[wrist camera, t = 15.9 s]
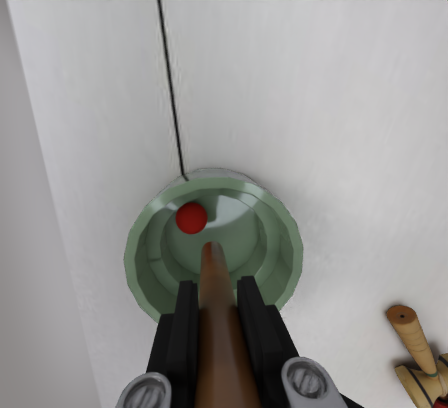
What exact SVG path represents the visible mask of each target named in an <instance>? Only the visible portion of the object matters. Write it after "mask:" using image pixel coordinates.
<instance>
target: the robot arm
mask: <svg viewBox="0 0 448 408" xmlns="http://www.w3.org/2000/svg"><path fill="white" fill-rule="evenodd" d="M237 308H238V312H239V316H240V320H241V324H242V328H243V332H244V336H245V340H246V344H247V348H248V352H249V356H250V360H251V364H252V368H253V372H254V376H255V380H256V384H257V387H258V391H259V395H260V399H261V403H262V407H263V408H364V407H362V406H361V405H359V404H357V403H356V402H354V401H352V400H351V399H349V398H347V397H346V396H344V395H342V394H341V393H339V391H338V389H337V388H336V386H335V384H334V382H333V380H332V379H331V377H330V375H329V374H328V373H327V371H326V370H325V369H324V368H323V367H322V366H321V365H320V364H319V363H317V362H315V361H314V360H312V359H309V358H306V357H300V356H299V354H298V352H297V350H296V348H295V346H294V343H293V341H292V339H291V337H290V335H289V332H288V330H287V328H286V326H285V324H284V322H283V319H282V317H281V315H280V313H279V311H278V309H277V307H276V305H275V304H272V305H265V304H264V301H263V298H262V296H261V293H260V291H259V288H258V286H257V283H256V281H255V278H254V276H253V275H251V276H241V280H237ZM198 324H199V301H198V286H197V283H193V281H192V280H185V281H180V283H179V289H178V295H177V301H176V306H175V312H174V313H168V314H161V316H160V319H159V323H158V327H157V331H156V335H155V339H154V343H153V347H152V350H151V354H150V358H149V362H148V366H147V370H146V373H145V374H142V375H140V376H138V377H137V378H135V379H134V380H133V381H131V382H130V383H129V384H128V385H127V386H126V388H125V389H124V390H123V392H122V394H121V396H120V398H119V400H118V403H117V406H116V408H194V395H195V390H196V371H197V348H198Z"/></svg>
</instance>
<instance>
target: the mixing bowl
mask: <svg viewBox="0 0 448 408" xmlns="http://www.w3.org/2000/svg"><path fill="white" fill-rule="evenodd" d="M189 202H194V203H198V204H200V205H201V206H202V207H203V208H204V209H205V210H206V212H207V216H208V220H207V224H206V226H205V228H204V229H203V230H202V231H200V232H199V233H196V234H186V233H184V232H182V231H181V230H180V229H179V228H178V226H177V224H176V220H175V217H176V213H177V211H178V209H179V208H180V207H181V206H183V205H184V204H186V203H189ZM209 241H216V242H218V243H220V244H221V246H222V247H223V251H224V255H225V259H226V263H227V267H228V271H229V275H230V279H231V283H232V287H233V291H234V295H235V299H236V303H237V280H241V276H251V275H253V276H254V278H255V281H256V283H257V286H258V288H259V291H260V293H261V296H262V298H263V301H264V304H265V305H272V304H275V305H276V307H277V309H278V311H280V310H281V308H282V307H283V306H284V305H285V304H286V302H287V301H288V300H289V299H290V297H291V296H292V295H293V293H294V290H295V288H296V285H297V283H298V280H299V278H300V276H301V273H302V261H303V244H302V241H301V237H300V234H299V230H298V227H297V223H296V222H295V220H294V219H293V217H292V216H291V215H290V213H289V212H288V210H287V209H286V208H285V206H284V205H283V204H282V202H281V201H280V200H279V199H277V198H276V197H274V196H273V195H272V194H270V193H269V192H268V191H266V190H265V189H264V188H262V187H261V186H259V185H258V184H257V183H255V182H254V181H252V180H251V179H249V178H248V177H246V176H245V175H243V174H241V173H237V172H234V171H230V170H227V169H223V168H209V169H198V170H195V171H192V172H190V173H187V174H184V175H181V176H179V177H177V178H176V179H175V180H174V181H172V182H171V183H170V184H169V185H167V186H166V187H165V188H164V189H162V190H161V191H160V192H159V193H158V194H157V195H156V196H155V197H154V198H153V199H152V200H151V201H150V202H149V203H148V204H147V205H146V206H145V208H144V209H143V210H142V212H141V214H140V215H139V217H138V218H137V220H136V222H135V223H134V225H133V226H132V228H131V230H130V232H129V235H128V240H127V244H126V249H125V254H124V265H125V272H126V278H127V284H128V286H129V288H130V290H131V292H132V294H133V296H134V297H135V299H136V301H137V303H138V305H139V306H140V308H141V309H142V310H144V311H145V312H146V313H147V314H148V315H149V316H150V317H151V318H152V319H153V320H154V321H156V322H157V323H159V319H160V316H161V314H168V313H174V312H175V306H176V301H177V295H178V289H179V283H180V281H185V280H192V281H193V283H197V286H198V301H199V290H200V269H201V250H202V247H203V245H204V244H205V243H207V242H209Z"/></svg>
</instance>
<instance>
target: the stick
mask: <svg viewBox="0 0 448 408" xmlns="http://www.w3.org/2000/svg"><path fill="white" fill-rule="evenodd" d="M194 408H263V407H262V403H261V399H260V395H259V391H258V387H257V384H256V380H255V376H254V372H253V368H252V364H251V360H250V356H249V352H248V348H247V344H246V340H245V336H244V332H243V328H242V324H241V320H240V316H239V312H238V308H237V303H236V299H235V295H234V291H233V287H232V283H231V279H230V275H229V271H228V267H227V263H226V259H225V255H224V251H223V247H222V246H221V244H220V243H218V242H216V241H209V242H207V243H205V244H204V245H203V247H202V250H201V269H200V290H199V324H198V348H197V371H196V390H195V395H194Z"/></svg>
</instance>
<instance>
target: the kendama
mask: <svg viewBox="0 0 448 408" xmlns="http://www.w3.org/2000/svg"><path fill="white" fill-rule="evenodd" d="M387 318H388V320H389V321H390V323H391V324H392V326H393V327H394V328H395V330H396V332H397V333H398V335H399V336H400V338H401V339H402V341H403V343H404V344H405V346H406V348H407V349H408V351H409V352H410V354H411V355H412V357H413V358H414V360H415V361H416V362H417V364H418V365H419V366H420V368H421V369H422V370H423V371H418V370H413V369H410V368H407V367H405V366H403V365H401V366H399V367H396V368H395V372H396V374H397V376H398V378H399V380H400V381H401V383H402V385H403V387H404V388H405V390H406V391H407V393H408V395H409V396H410V398H411V399H412V401H413V403H414V404H415V406H416V407H417V408H448V353H446V354H441V355H439V358H438V362H437V364H436V365H435V361H434V358H433V355H432V352H431V350H430V347H429V345H428V343H427V340H426V338H425V335H424V333H423V330H422V328H421V325H420V323H419V320H418V317H417V314H416V312H415V311H414V310H413V309H412V308H409V307H407V306H402V305H399V306H394V307H391V308H390V309H389V310H388V311H387Z"/></svg>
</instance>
